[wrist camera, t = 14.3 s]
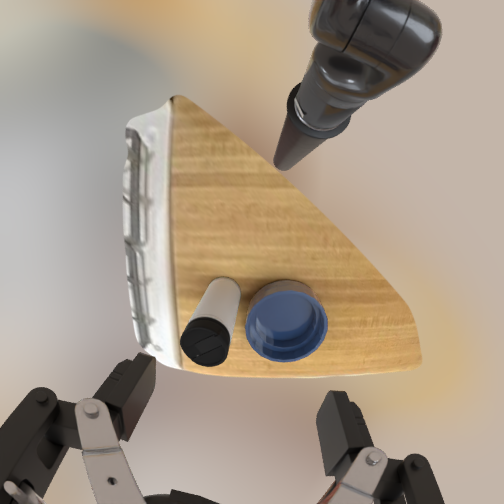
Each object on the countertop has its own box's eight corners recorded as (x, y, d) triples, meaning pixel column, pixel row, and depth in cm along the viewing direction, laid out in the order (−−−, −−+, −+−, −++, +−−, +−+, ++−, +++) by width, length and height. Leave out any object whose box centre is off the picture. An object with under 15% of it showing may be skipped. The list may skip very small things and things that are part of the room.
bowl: (255, 272, 49) (254, 283, 44) (330, 287, 50) (338, 299, 44) (241, 338, 53) (238, 354, 47) (309, 349, 53) (313, 366, 47)
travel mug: (249, 296, 51) (240, 358, 31) (220, 313, 52) (198, 376, 32) (230, 269, 50) (210, 318, 30) (201, 286, 51) (167, 341, 31)
